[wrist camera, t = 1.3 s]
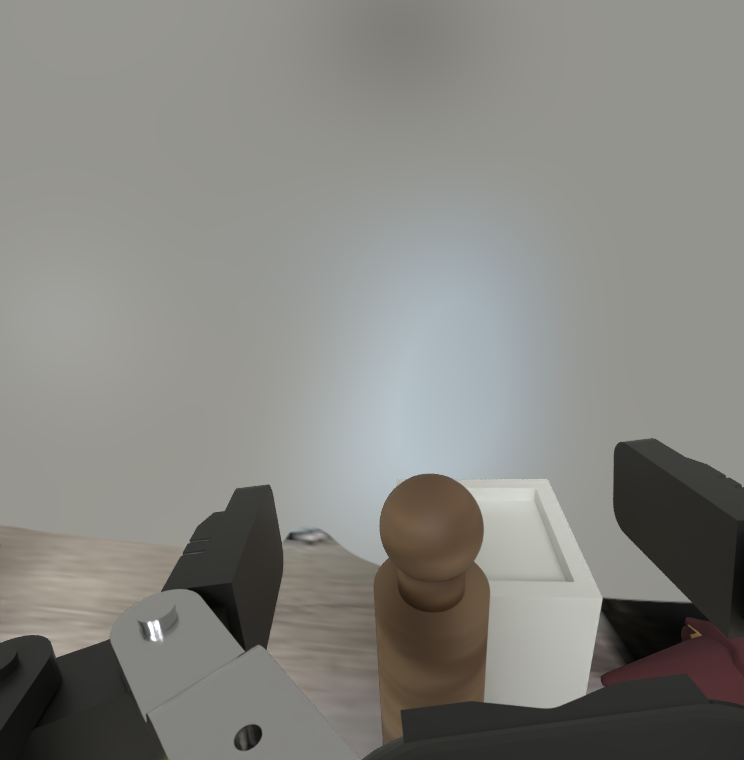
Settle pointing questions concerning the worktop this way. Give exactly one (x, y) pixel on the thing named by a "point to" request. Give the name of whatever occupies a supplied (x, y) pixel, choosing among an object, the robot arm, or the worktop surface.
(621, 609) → the worktop surface
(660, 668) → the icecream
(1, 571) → the worktop surface
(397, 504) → the pepper mill
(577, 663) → the plinth
